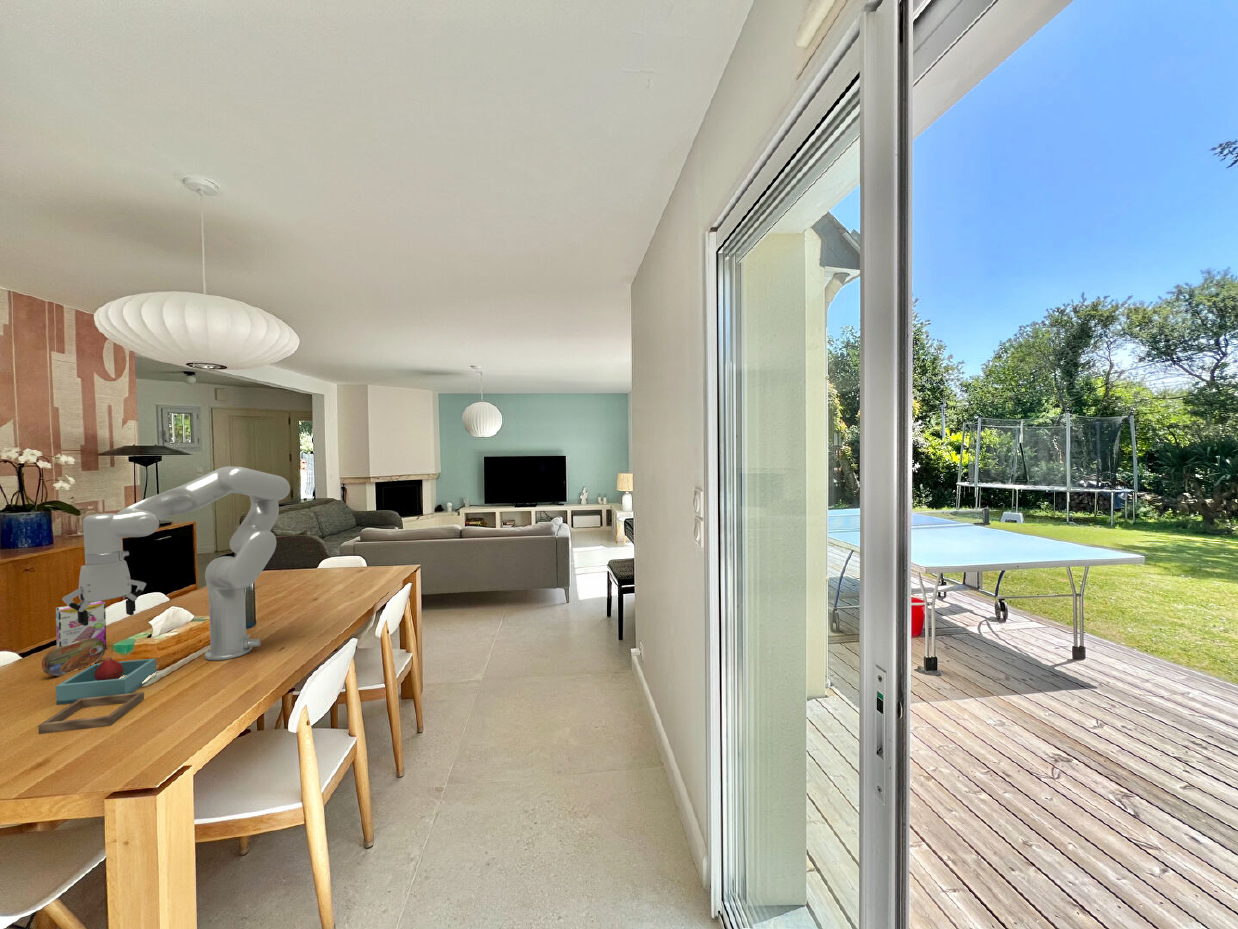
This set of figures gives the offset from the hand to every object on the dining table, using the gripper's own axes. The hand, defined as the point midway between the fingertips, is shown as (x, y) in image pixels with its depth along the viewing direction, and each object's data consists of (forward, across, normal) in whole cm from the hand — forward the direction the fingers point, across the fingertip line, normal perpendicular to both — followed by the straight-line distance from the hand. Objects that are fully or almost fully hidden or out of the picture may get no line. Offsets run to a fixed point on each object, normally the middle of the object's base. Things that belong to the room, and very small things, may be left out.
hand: (107, 619), depth 151 cm
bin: (+20, 0, 0) cm, 20 cm away
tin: (+20, 0, -27) cm, 33 cm away
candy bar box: (+20, -5, -41) cm, 46 cm away
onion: (+19, 0, 0) cm, 19 cm away
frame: (+19, +8, +16) cm, 27 cm away
